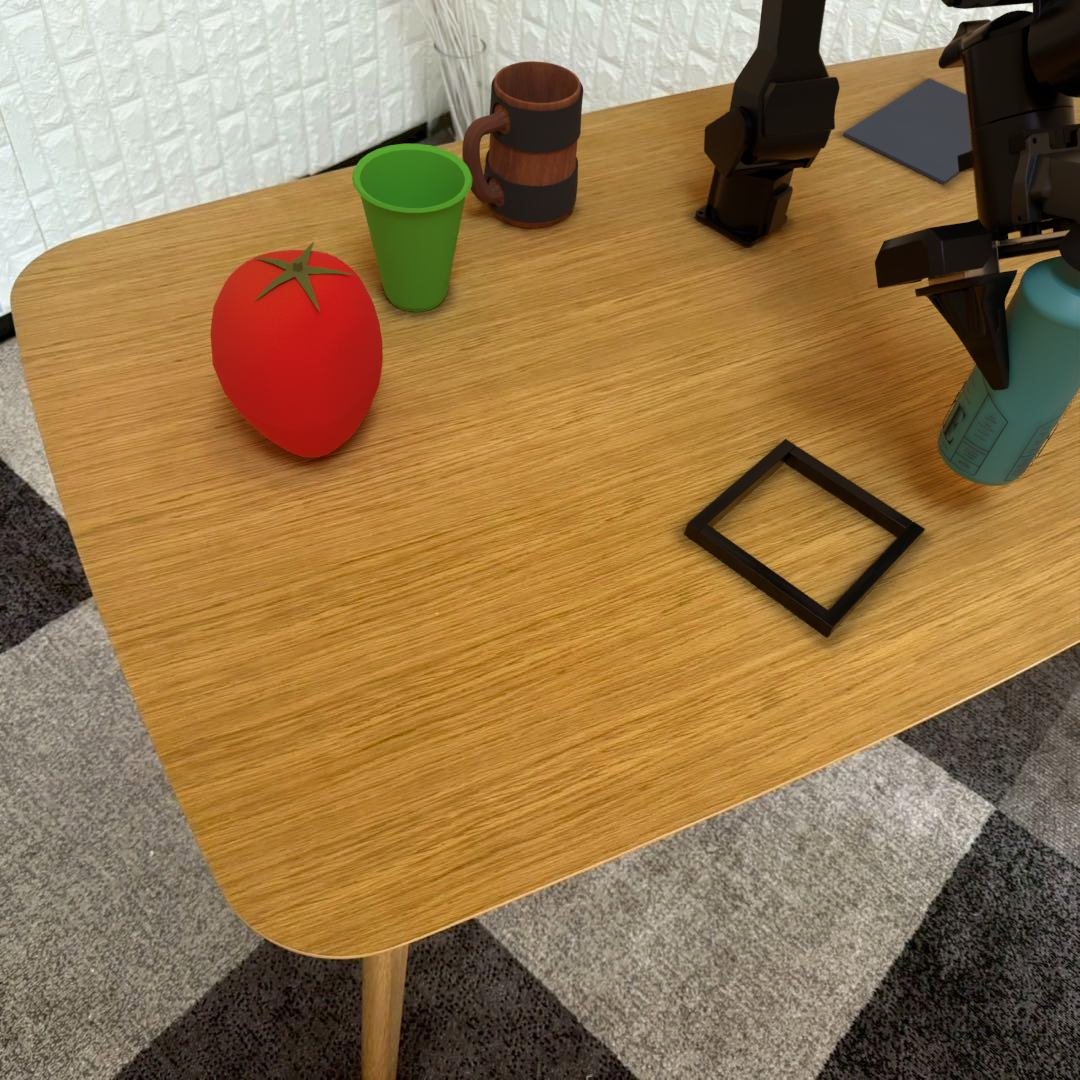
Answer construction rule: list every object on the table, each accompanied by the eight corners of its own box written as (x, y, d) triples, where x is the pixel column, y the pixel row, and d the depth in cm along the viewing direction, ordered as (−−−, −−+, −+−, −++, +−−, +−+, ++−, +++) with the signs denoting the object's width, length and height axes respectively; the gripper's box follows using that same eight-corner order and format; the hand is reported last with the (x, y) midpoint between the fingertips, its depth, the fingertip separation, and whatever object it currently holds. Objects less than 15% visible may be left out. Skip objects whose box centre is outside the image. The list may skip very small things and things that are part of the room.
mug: (434, 208, 93) (433, 84, 84) (535, 168, 99) (543, 48, 89) (492, 255, 89) (497, 131, 80) (594, 211, 95) (609, 90, 86)
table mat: (842, 135, 107) (844, 132, 106) (928, 81, 116) (929, 78, 115) (943, 184, 102) (945, 181, 102) (1024, 124, 111) (1025, 121, 111)
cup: (386, 339, 82) (379, 220, 73) (345, 274, 86) (334, 155, 78) (487, 312, 85) (492, 194, 76) (443, 250, 89) (442, 133, 81)
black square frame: (683, 534, 71) (687, 523, 70) (781, 449, 77) (785, 438, 76) (827, 638, 66) (832, 627, 65) (919, 539, 72) (925, 528, 71)
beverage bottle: (1032, 501, 70) (1201, 261, 55) (942, 505, 70) (1088, 263, 54) (996, 433, 74) (1143, 191, 59) (910, 436, 73) (1036, 192, 58)
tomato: (395, 477, 72) (385, 320, 61) (230, 492, 70) (190, 332, 59) (379, 359, 80) (368, 200, 69) (230, 370, 78) (194, 208, 67)
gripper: (983, 94, 51) (1012, 403, 54) (1268, 63, 56) (1283, 348, 58) (856, 152, 62) (885, 407, 64) (1105, 121, 66) (1123, 360, 69)
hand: (1044, 381), depth 64 cm, fingers closed on beverage bottle, 6 cm apart
